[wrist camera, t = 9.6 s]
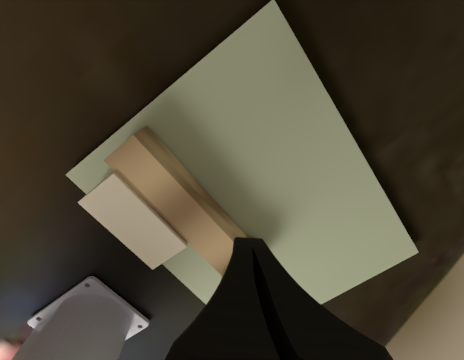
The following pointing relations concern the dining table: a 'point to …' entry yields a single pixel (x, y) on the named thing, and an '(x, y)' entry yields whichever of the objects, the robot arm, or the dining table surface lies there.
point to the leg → (176, 196)
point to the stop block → (132, 221)
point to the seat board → (270, 162)
